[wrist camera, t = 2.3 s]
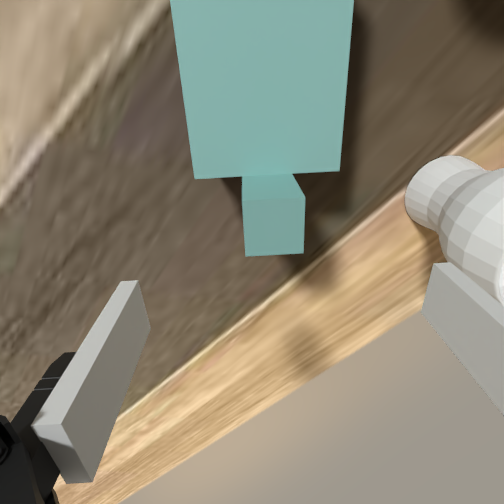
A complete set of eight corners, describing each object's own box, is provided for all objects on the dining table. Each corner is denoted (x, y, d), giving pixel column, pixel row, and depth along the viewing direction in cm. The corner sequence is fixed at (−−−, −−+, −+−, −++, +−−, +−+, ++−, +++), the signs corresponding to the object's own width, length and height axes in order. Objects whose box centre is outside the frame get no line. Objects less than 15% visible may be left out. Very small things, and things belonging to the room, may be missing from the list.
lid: (157, -112, 18) (112, -217, 12) (359, -123, 18) (420, -234, 12) (202, 220, 28) (190, 259, 21) (332, 213, 28) (358, 250, 21)
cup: (444, 250, 37) (558, 343, 23) (371, 214, 34) (451, 296, 21) (515, 168, 32) (704, 226, 19) (436, 120, 30) (591, 148, 17)
